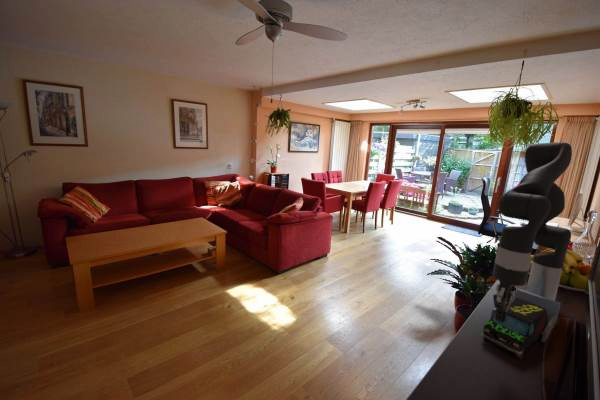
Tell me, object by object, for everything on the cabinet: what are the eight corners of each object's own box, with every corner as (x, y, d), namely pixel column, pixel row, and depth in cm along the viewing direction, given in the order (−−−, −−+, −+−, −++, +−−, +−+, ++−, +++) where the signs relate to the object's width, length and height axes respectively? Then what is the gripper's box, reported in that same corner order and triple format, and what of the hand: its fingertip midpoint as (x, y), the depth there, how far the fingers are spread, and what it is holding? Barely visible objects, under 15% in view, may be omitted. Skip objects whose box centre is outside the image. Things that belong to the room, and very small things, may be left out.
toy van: (479, 340, 87) (484, 312, 85) (509, 318, 101) (514, 293, 99) (518, 362, 78) (525, 331, 77) (546, 334, 92) (552, 308, 90)
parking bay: (506, 303, 111) (510, 285, 109) (556, 322, 99) (560, 303, 97) (490, 318, 99) (494, 299, 98) (544, 342, 87) (549, 320, 86)
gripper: (503, 255, 81) (492, 307, 84) (487, 264, 73) (476, 321, 76) (535, 264, 75) (522, 319, 78) (521, 275, 67) (508, 336, 70)
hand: (500, 320), depth 77 cm, fingers closed
